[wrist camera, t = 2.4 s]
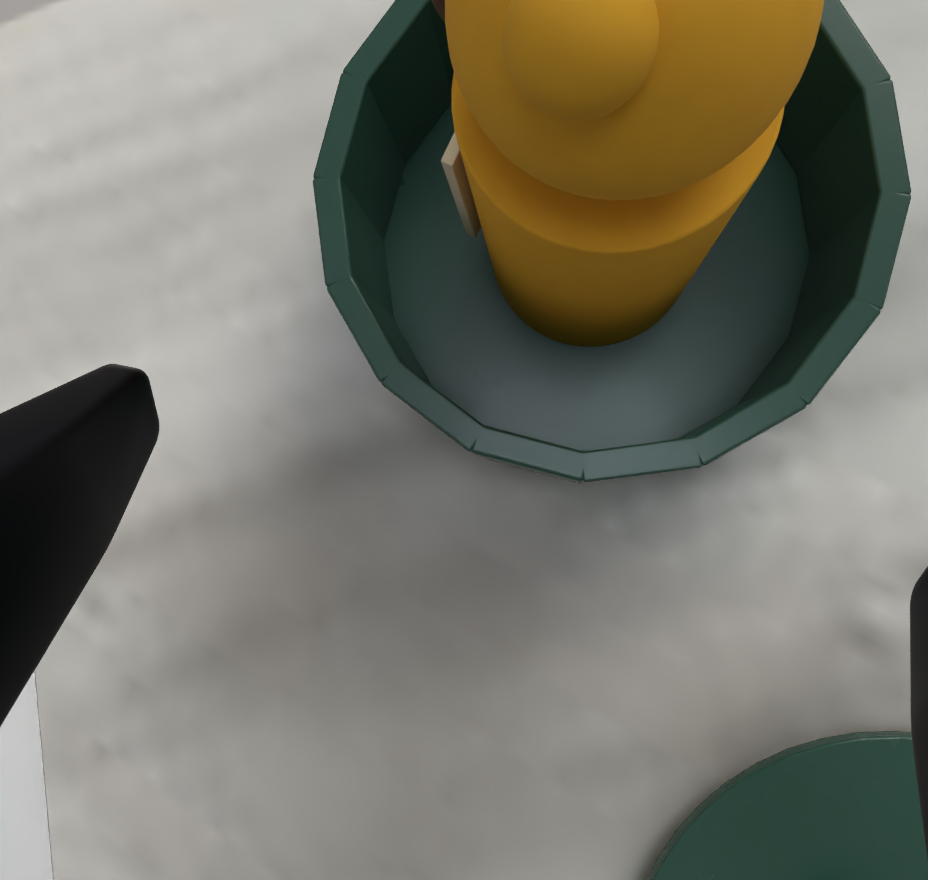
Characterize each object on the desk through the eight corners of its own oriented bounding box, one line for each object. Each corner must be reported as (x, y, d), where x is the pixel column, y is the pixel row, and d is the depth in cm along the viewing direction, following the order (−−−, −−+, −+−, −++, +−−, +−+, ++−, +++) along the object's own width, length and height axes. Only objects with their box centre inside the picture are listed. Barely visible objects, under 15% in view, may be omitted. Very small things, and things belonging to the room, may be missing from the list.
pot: (508, 562, 21) (494, 585, 17) (290, 183, 23) (218, 99, 18) (917, 329, 21) (1029, 280, 16) (670, -52, 22) (703, -206, 17)
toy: (726, 198, 21) (1027, -302, 8) (638, 379, 21) (786, 194, 8) (533, 116, 22) (500, -481, 8) (448, 291, 22) (276, -21, 8)
